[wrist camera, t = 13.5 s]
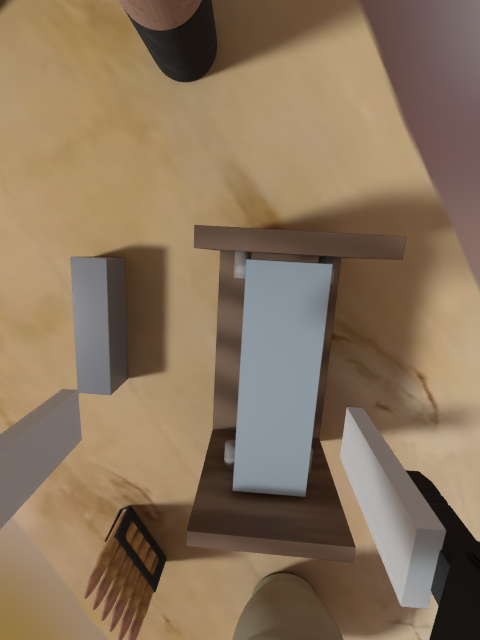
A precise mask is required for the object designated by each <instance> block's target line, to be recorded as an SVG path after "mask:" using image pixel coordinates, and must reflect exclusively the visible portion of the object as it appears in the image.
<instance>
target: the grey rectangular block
mask: <svg viewBox="0 0 480 640" xmlns="http://www.w3.org/2000/svg"><path fill="white" fill-rule="evenodd" d="M70 258H71V276H72V294H73V312H74V330H75V348H76V366H77V384H78V393H89V394H101V395H111V394H112V393H113V392H115V391H116V390H117V389H118V388H119V387H120V386H121V385H122V384H123V383H124V382H125V381H126V380H127V379H128V370H127V319H126V268H125V258H110V257H70Z"/></svg>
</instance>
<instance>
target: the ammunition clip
mask: <svg viewBox="0 0 480 640" xmlns="http://www.w3.org/2000/svg"><path fill="white" fill-rule="evenodd" d="M105 542H106V543H105V545H104V547H103V549H102V551H101V553H100V555H99V557H98V559H97V563H96V565H95V568H94V570H93V572H92V574H91V576H90V578H89V581H88V583H87V586H86V590H85V594H84V598H85V599H86V598H87V597H88V596H89V595H90V594H91V593H92V591H93V590H94V589H95V587H96V585H97V584H98V582H99V580H100V578H101V576H102V575H103V573H104V575H103V578H102V580H101V583H100V585H99V587H98V590H97V592H96V595H95V598H94V602H93V610H95V609H96V608H97V607H98V606H99V604H100V603H101V601H102V600H103V598H104V597H105V595H106V593H107V591H108V589H109V587H110V585H111V587H110V590H109V593H108V595H107V598H106V600H105V603H104V606H103V610H102V616H101V621H103V620H104V619H105V618H106V617H107V615H108V614H109V612H110V611H111V609H112V607H113V605H114V603H115V601H116V599H117V597H118V599H117V602H116V605H115V607H114V610H113V613H112V617H111V621H110V632H111V631H112V630H113V629H114V628H115V626H116V625H117V623H118V621H119V620H120V618H121V616H122V613H123V611H124V608H125V606H126V608H125V611H124V615H123V618H122V621H121V624H120V628H119V634H118V640H122V639H123V637H124V636H125V634H126V632H127V630H128V628H129V626H130V624H131V621H132V624H131V627H130V630H129V634H128V639H127V640H136V638H137V636H138V633H139V630H140V627H141V625H142V622H143V619H144V617H145V615H146V613H147V610H148V607H149V604H150V601H151V598H152V594H153V591H154V592H156V589H157V586H158V583H159V580H160V577H161V574H162V571H163V568H164V565H165V562H166V559H167V558H166V556H165V555H164V553H163V552H162V550H161V549H160V547H159V546H158V544H157V543H156V542H155V540H154V539H153V537H152V536H151V534H150V533H149V531H148V530H147V529H146V527H145V526H144V524H143V523H142V521H141V520H140V518H139V517H138V516H137V514H136V513H135V511H134V510H133V508H132V507H131V506H127V507H125V508H123V509H120V511H119V513H118V515H117V517H116V519H115V521H114V523H113V525H112V527H111V529H110V531H109V533H108V535H107V537H106V539H105ZM104 571H105V572H104ZM111 583H112V584H111ZM118 595H119V596H118ZM126 604H127V605H126ZM133 616H134V617H133ZM132 618H133V620H132Z"/></svg>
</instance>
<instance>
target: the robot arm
mask: <svg viewBox="0 0 480 640" xmlns="http://www.w3.org/2000/svg"><path fill="white" fill-rule="evenodd" d="M81 440H82V436H81V423H80V411H79V398H78V390H70V389H62V390H61V391H59V392H58V393H57V394H55V395H54V396H52V397H51V398H50V399H48V400H47V401H46V402H44V403H43V404H41V405H40V406H39V407H37V408H36V409H35V410H33V411H32V412H30V413H29V414H28V415H26V416H25V417H24V418H22V419H21V420H20V421H18V422H17V423H15V424H14V425H13V426H11V427H10V428H9V429H7V430H6V431H4V432H3V433H2V434H0V529H1V528H2V527H3V526H4V525H5V524H6V522H7V521H8V520H9V519H10V518H11V517H12V516H13V515H14V514H15V513H16V511H17V510H18V509H19V508H20V507H21V506H22V505H23V504H24V503H25V502H26V500H27V499H28V498H29V497H30V496H31V495H32V494H33V493H34V492H35V491H36V489H37V488H38V487H39V486H40V485H41V484H42V483H43V482H44V481H45V480H46V478H47V477H48V476H49V475H50V474H51V473H52V472H53V471H54V470H55V469H56V467H57V466H58V465H59V464H60V463H61V462H62V461H63V460H64V459H65V458H66V456H67V455H68V454H69V453H70V452H71V451H72V450H73V449H74V448H75V447H76V445H77V444H78V443H79V442H80V441H81ZM340 458H341V461H342V463H343V466H344V468H345V471H346V473H347V476H348V478H349V481H350V483H351V485H352V488H353V490H354V493H355V495H356V498H357V500H358V503H359V505H360V507H361V510H362V512H363V515H364V517H365V520H366V522H367V525H368V527H369V529H370V532H371V534H372V537H373V539H374V542H375V544H376V547H377V549H378V552H379V554H380V556H381V559H382V561H383V564H384V566H385V569H386V571H387V574H388V576H389V578H390V581H391V583H392V586H393V588H394V591H395V593H396V596H397V598H398V601H399V603H400V605H401V606H402V607H413V608H425V609H428V606H429V602H430V597H431V593H432V594H433V596H434V598H435V600H436V602H437V604H438V606H439V607H438V611H437V615H436V618H435V622H434V625H433V629H432V633H431V636H430V640H480V542H478V541H476V540H475V538H474V537H473V536H472V534H471V533H470V532H469V530H468V529H467V528H466V526H465V525H464V524H463V522H462V521H461V520H460V518H459V517H458V516H457V514H456V513H455V512H454V511H453V509H452V508H451V507H450V505H448V503H447V501H446V500H445V499H444V497H443V496H441V495H440V492H439V491H438V489H437V488H436V487H435V485H434V484H433V483H432V482H431V481H430V480H429V479H428V478H426V477H425V476H424V475H423V474H421V473H420V472H419V471H407V470H405V469H404V468H403V466H402V465H401V463H400V462H399V460H398V459H397V457H396V456H395V454H394V453H393V451H392V450H391V448H390V447H389V446H388V444H387V443H386V441H385V440H384V438H383V437H382V435H381V434H380V432H379V431H378V429H377V428H376V426H375V425H374V423H373V422H372V420H371V419H370V418H369V416H368V415H367V413H366V412H365V410H364V409H363V408H356V407H347V409H346V417H345V424H344V432H343V439H342V447H341V454H340Z"/></svg>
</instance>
